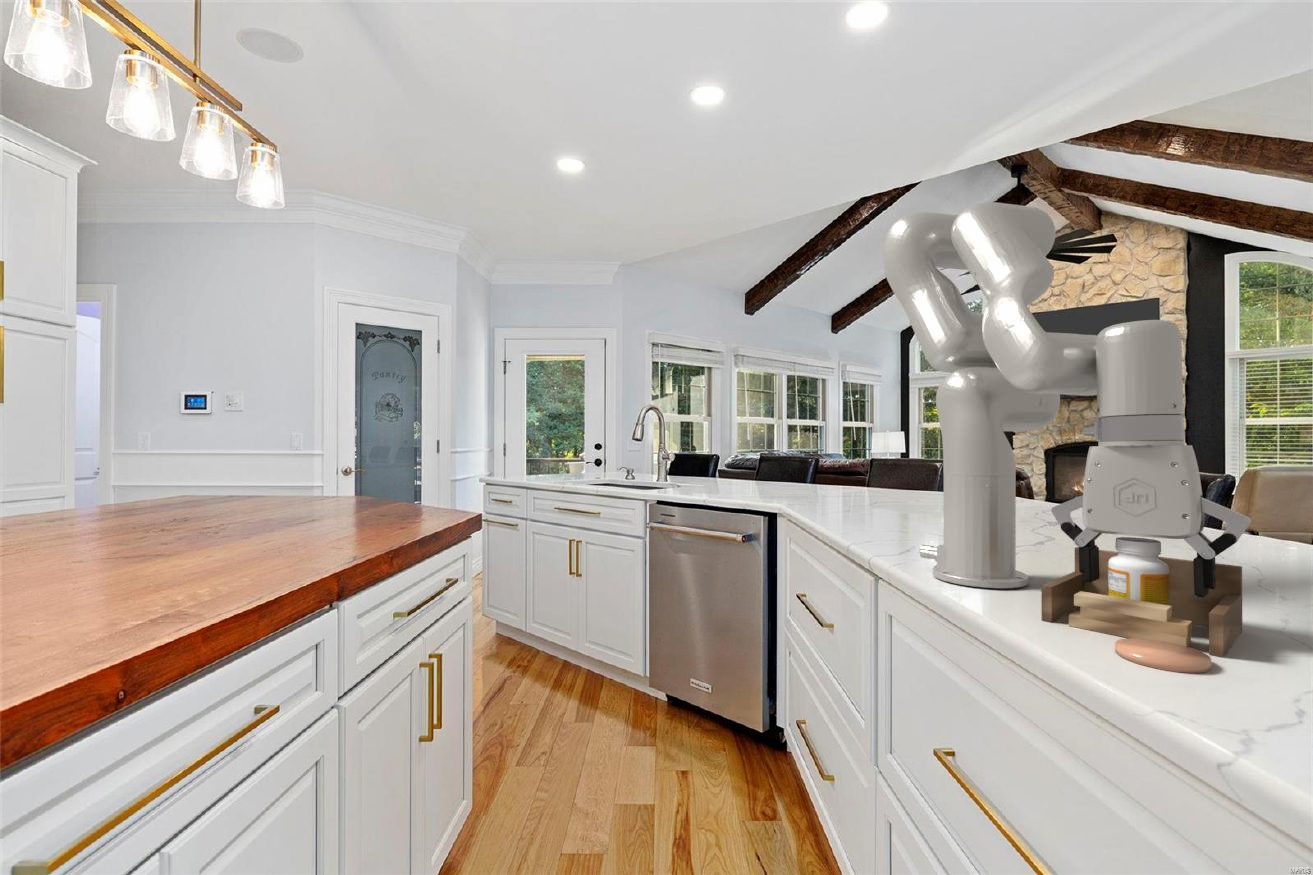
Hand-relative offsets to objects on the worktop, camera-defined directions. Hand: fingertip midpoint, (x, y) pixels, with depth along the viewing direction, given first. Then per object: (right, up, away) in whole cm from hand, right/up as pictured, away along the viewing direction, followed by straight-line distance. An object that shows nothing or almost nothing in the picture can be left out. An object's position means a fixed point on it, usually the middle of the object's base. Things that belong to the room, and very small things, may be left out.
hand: (1143, 587), depth 67 cm
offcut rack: (0, -5, +1) cm, 5 cm away
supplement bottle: (0, -5, +1) cm, 5 cm away
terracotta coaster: (-6, -4, -10) cm, 12 cm away
